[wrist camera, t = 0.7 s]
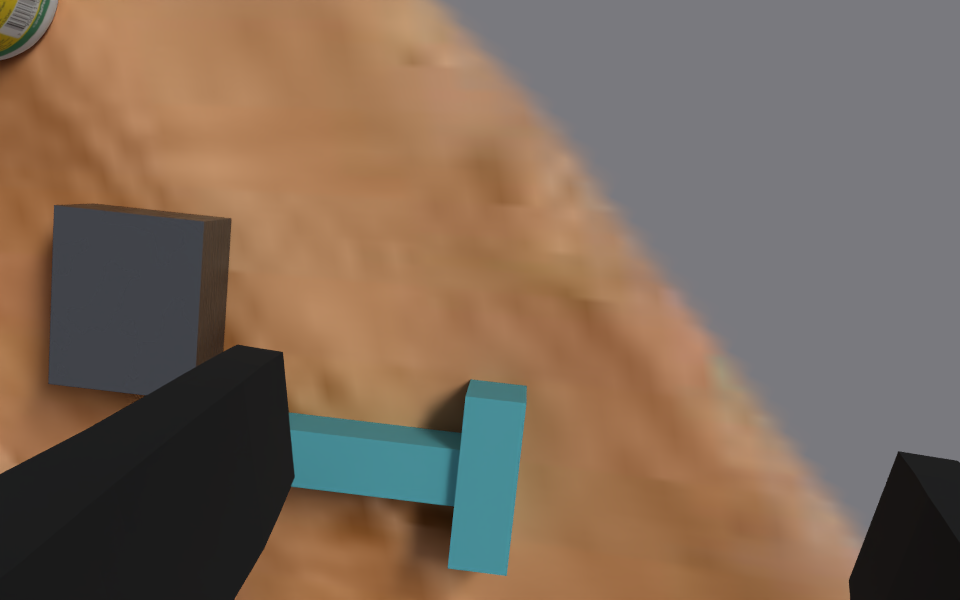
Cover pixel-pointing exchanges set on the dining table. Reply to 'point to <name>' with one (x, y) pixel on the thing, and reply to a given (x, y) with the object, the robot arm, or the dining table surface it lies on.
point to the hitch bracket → (135, 296)
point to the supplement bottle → (23, 24)
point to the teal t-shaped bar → (429, 467)
